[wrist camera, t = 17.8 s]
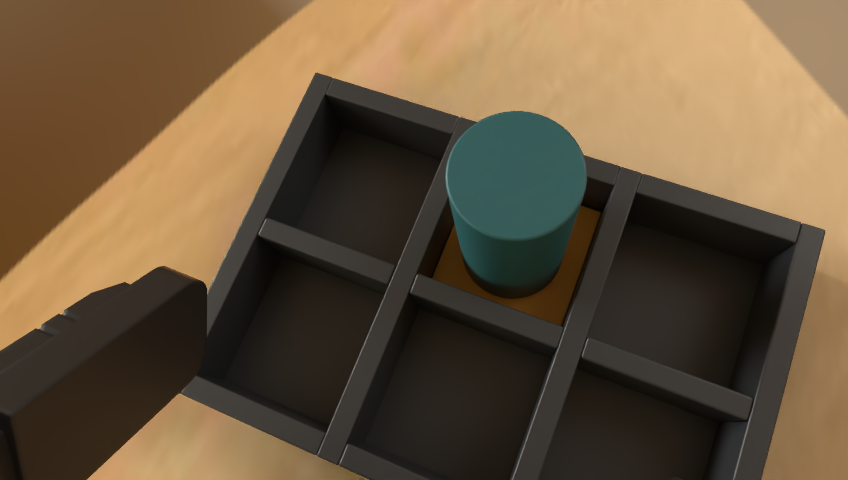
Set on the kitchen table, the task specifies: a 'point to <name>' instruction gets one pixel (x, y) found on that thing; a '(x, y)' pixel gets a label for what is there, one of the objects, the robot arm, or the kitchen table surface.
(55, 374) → the robot arm
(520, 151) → the cylinder
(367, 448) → the grid
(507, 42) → the kitchen table surface
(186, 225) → the kitchen table surface
